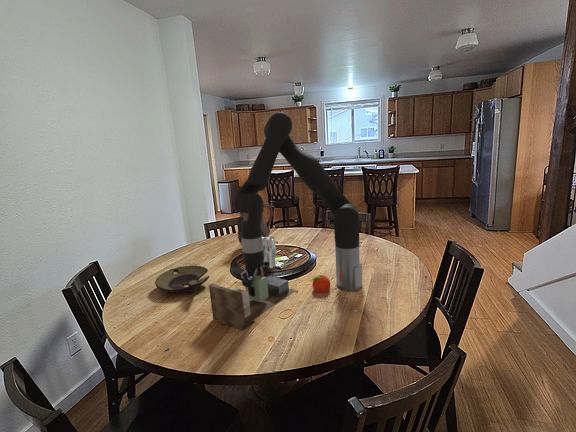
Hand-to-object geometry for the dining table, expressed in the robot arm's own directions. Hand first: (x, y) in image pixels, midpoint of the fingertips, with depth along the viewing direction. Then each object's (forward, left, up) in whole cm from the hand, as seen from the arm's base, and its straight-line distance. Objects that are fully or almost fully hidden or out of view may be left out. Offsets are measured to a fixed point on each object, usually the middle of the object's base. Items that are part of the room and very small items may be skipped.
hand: (257, 292), depth 116 cm
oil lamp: (+38, +6, -5) cm, 39 cm away
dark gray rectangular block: (0, -9, -4) cm, 10 cm away
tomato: (-15, -19, -5) cm, 25 cm away
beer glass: (+19, -29, -5) cm, 35 cm away
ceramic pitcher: (+47, -51, -5) cm, 70 cm away
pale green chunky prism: (0, 0, -2) cm, 2 cm away
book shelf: (0, +1, -5) cm, 5 cm away
